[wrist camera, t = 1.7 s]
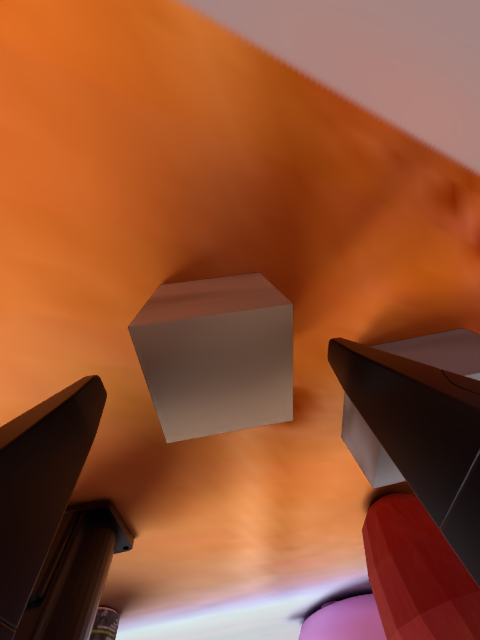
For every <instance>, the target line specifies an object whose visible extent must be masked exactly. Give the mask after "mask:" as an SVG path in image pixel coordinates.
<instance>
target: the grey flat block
mask: <svg viewBox="0 0 480 640" xmlns="http://www.w3.org/2000/svg"><path fill="white" fill-rule="evenodd" d="M369 347H372V348H376V349H379V350H382V351H385V352H388V353H392V354H395V355H398V356H401V357H404V358H408V359H411V360H414V361H417V362H420V363H424V364H427V365H430V366H433V367H437V368H439V369H440V370H441V369H443V370H446V371H450V372H453V373H456V374H459V375H463V376H466V377H469V378H473V379H476V380H479V381H480V335H479V334H477V333H474V332H472V331H469V330H467V329H465V328H462V329H457V330H451V331H446V332H441V333H436V334H431V335H426V336H421V337H415V338H410V339H405V340H400V341H395V342H390V343H385V344H380V345H374V346H369ZM341 438H342V439H343V441H344V442H345V444H346V446H347V447H348V449H349V450H350V452H351V454H352V455H353V457H354V458H355V460H356V462H357V463H358V465H359V466H360V468H361V470H362V471H363V473H364V475H365V476H366V478H367V479H368V481H369V483H370V484H371V486H372V487H373V489H374V488H378V487H382V486H386V485H391V484H395V483H399V482H403V481H406V480H405V479H404V477H403V476H402V474H401V473H400V471H399V470H398V468H397V467H396V465H395V464H394V463H393V461H392V460H391V458H390V457H389V455H388V454H387V452H386V451H385V449H384V448H383V447H382V445H381V444H380V442H379V441H378V439H377V438H376V436H375V435H374V434H373V432H372V431H371V429H370V428H369V426H368V425H367V423H366V422H365V420H364V419H363V418H362V416H361V415H360V413H359V412H358V410H357V409H356V407H355V406H354V404H353V403H352V402H351V400H350V399H349V397H348V396H347V394H346V392H345V394H344V407H343V421H342V434H341Z"/></svg>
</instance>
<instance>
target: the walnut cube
mask: <svg viewBox="0 0 480 640" xmlns="http://www.w3.org/2000/svg"><path fill="white" fill-rule="evenodd" d="M128 329H129V332H130V335H131V338H132V341H133V344H134V347H135V350H136V353H137V356H138V359H139V362H140V365H141V368H142V371H143V374H144V377H145V380H146V383H147V386H148V389H149V392H150V395H151V398H152V400H153V403H154V406H155V409H156V412H157V415H158V418H159V421H160V424H161V427H162V430H163V433H164V436H165V439H166V442H167V443H172V442H177V441H183V440H188V439H194V438H199V437H205V436H210V435H216V434H221V433H227V432H232V431H238V430H243V429H249V428H254V427H260V426H265V425H271V424H276V423H282V422H287V421H293V304H292V303H291V302H290V301H289V300H288V299H287V298H286V297H285V296H284V295H283V294H282V293H281V292H280V291H279V290H278V289H277V288H276V287H275V286H274V285H273V284H272V283H270V282H269V281H268V280H267V279H266V278H265V277H264V276H263V275H262V274H261V273H260V272H257V273H249V274H241V275H234V276H226V277H218V278H210V279H202V280H194V281H186V282H178V283H170V284H162V285H160V286H159V287H158V289H157V290H156V291H155V292H154V294H153V295H152V296H151V298H150V299H149V300H148V301H147V303H146V304H145V305H144V307H143V308H142V309H141V310H140V312H139V313H138V314H137V316H136V317H135V318H134V319H133V321H132V322H131V323H130V325H129V326H128Z"/></svg>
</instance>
